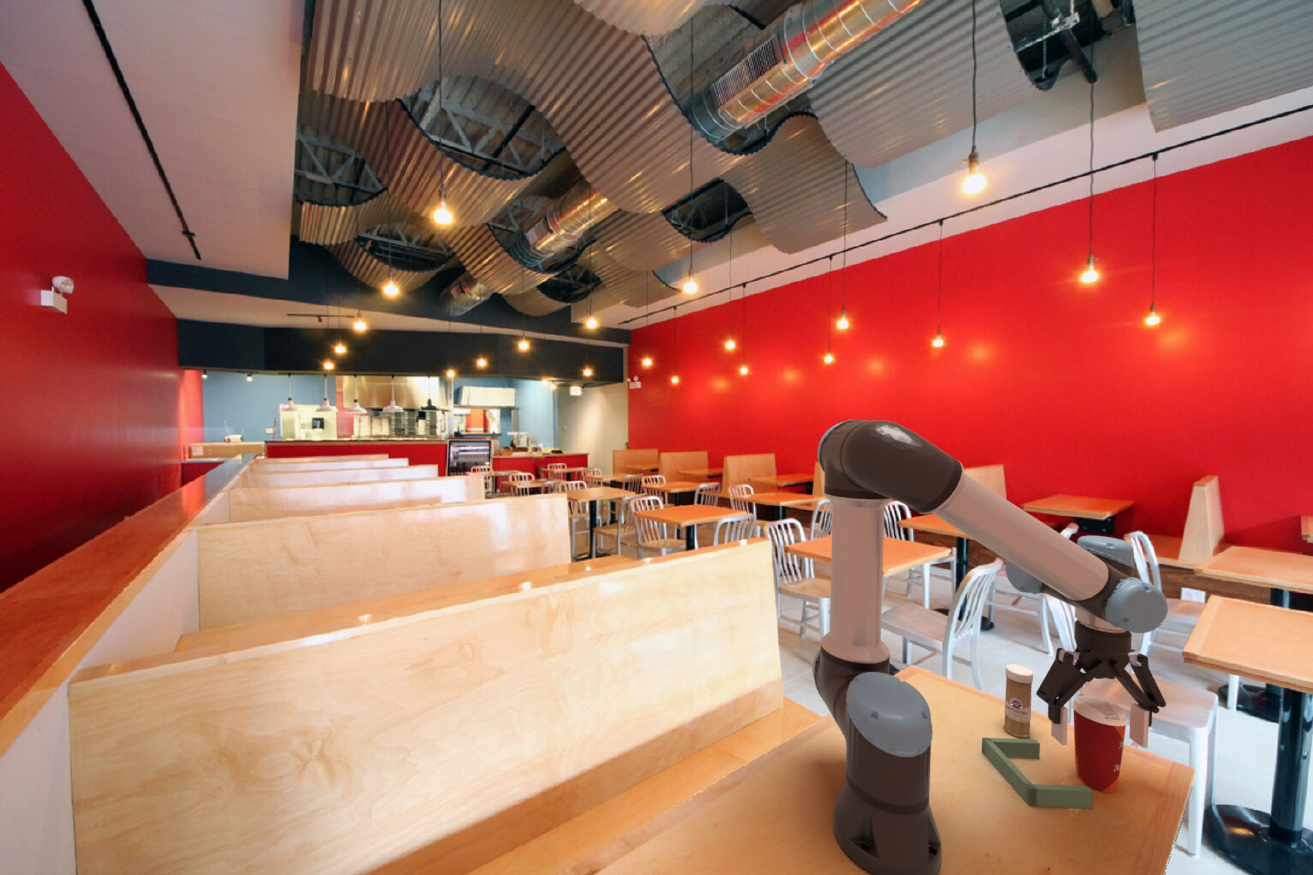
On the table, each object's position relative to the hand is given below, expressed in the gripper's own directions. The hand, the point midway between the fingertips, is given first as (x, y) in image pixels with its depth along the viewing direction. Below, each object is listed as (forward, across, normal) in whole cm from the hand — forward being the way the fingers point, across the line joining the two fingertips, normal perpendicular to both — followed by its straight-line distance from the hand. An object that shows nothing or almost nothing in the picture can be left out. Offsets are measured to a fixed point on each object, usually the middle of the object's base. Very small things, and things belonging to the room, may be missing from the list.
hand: (1098, 741), depth 89 cm
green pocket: (+7, -11, 0) cm, 13 cm away
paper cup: (+8, 0, 0) cm, 8 cm away
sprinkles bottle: (+8, -5, +14) cm, 16 cm away
